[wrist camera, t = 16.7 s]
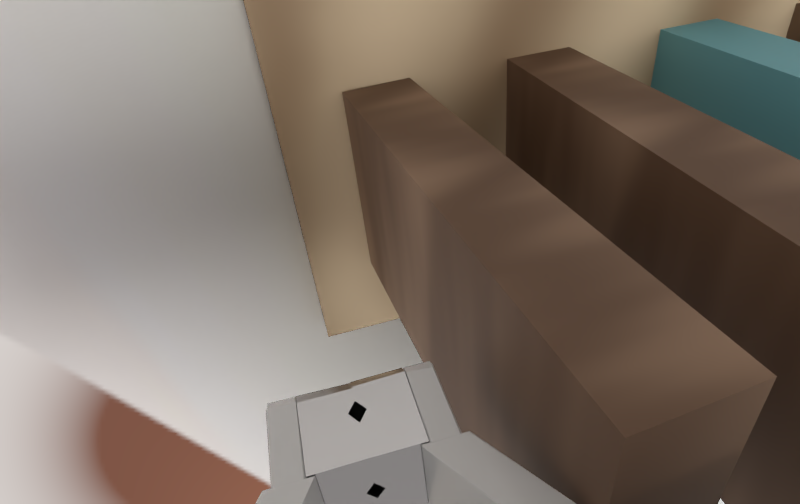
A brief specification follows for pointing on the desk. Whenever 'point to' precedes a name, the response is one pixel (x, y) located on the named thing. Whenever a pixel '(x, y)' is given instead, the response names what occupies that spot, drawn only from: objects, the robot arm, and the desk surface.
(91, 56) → the desk surface
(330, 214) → the oak board
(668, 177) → the tile
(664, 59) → the tile
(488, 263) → the tile
